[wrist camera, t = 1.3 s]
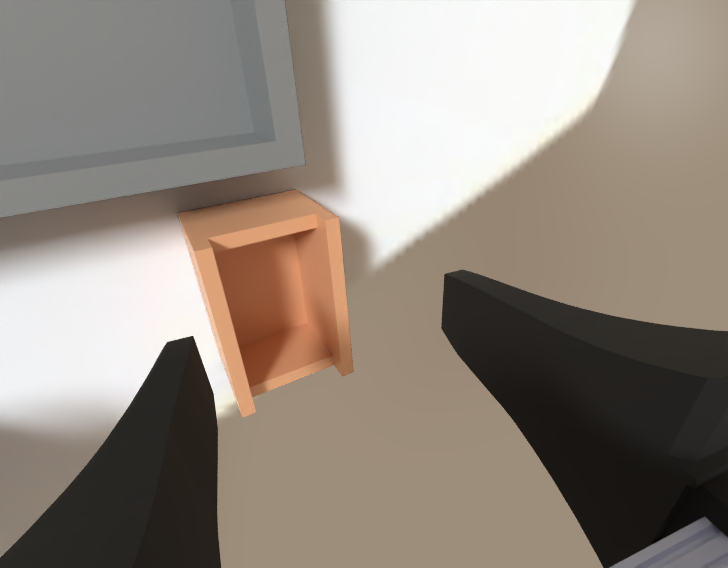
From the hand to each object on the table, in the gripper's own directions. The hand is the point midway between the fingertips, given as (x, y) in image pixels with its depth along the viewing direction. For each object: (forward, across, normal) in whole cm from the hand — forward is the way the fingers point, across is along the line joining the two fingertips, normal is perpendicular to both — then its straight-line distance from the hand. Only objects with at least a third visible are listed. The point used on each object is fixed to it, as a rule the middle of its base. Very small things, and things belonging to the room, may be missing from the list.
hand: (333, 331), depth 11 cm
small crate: (+10, +2, +3) cm, 11 cm away
